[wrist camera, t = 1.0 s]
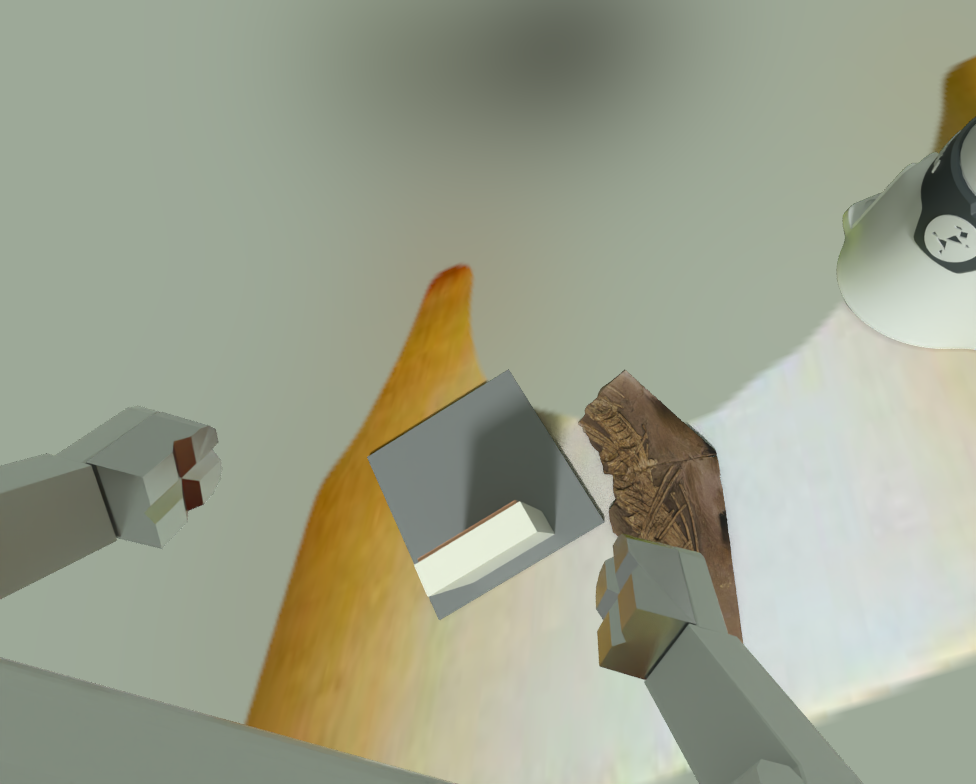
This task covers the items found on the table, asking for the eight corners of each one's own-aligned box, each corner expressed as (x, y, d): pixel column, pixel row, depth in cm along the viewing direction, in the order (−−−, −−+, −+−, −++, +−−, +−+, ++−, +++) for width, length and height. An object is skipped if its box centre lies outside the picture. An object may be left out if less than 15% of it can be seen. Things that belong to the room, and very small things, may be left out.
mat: (509, 370, 50) (508, 369, 49) (604, 522, 43) (604, 521, 43) (369, 457, 51) (367, 457, 50) (440, 619, 44) (439, 620, 44)
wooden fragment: (567, 388, 48) (566, 385, 47) (673, 355, 47) (675, 352, 46) (655, 665, 39) (657, 668, 38) (791, 636, 38) (796, 639, 37)
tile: (540, 508, 44) (517, 497, 33) (554, 534, 43) (537, 531, 32) (460, 556, 45) (412, 561, 34) (473, 582, 44) (427, 597, 33)
